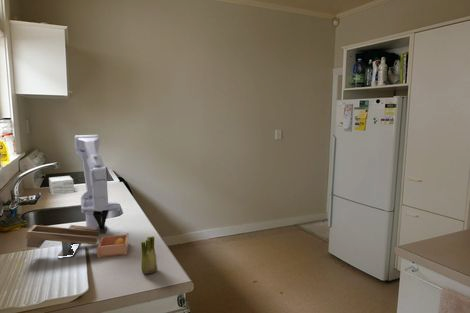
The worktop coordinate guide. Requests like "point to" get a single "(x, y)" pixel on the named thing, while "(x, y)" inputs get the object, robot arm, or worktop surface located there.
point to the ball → (119, 241)
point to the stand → (67, 249)
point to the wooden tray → (63, 234)
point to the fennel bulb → (148, 256)
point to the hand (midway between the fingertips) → (102, 228)
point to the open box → (112, 246)
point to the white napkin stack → (61, 185)
